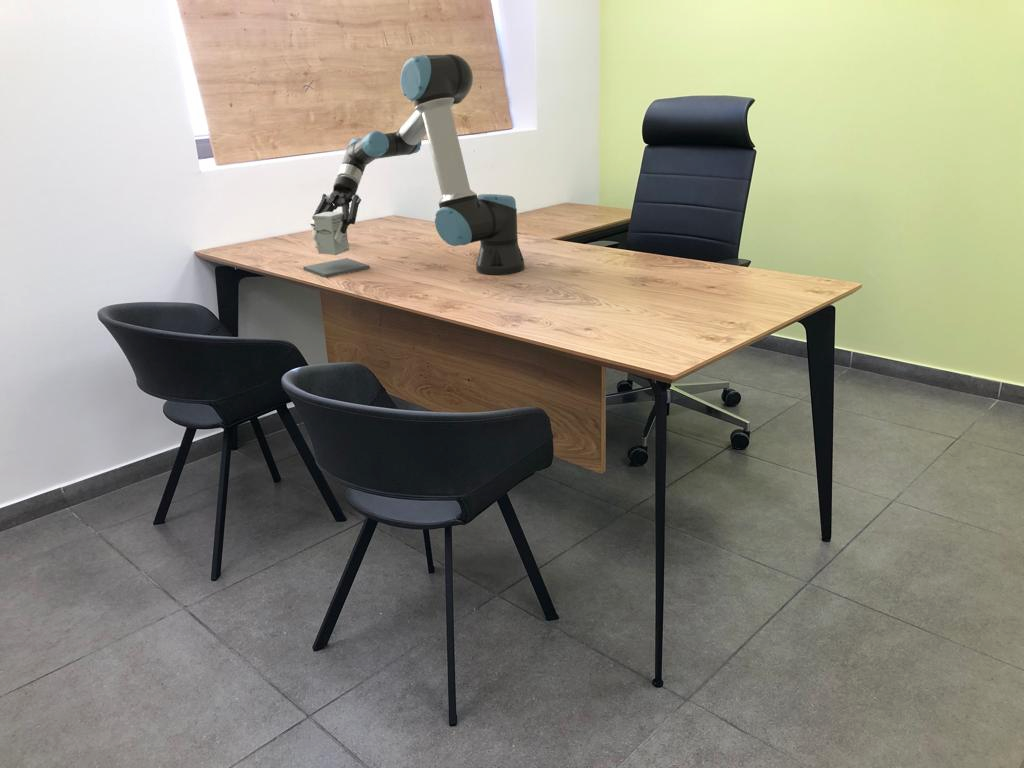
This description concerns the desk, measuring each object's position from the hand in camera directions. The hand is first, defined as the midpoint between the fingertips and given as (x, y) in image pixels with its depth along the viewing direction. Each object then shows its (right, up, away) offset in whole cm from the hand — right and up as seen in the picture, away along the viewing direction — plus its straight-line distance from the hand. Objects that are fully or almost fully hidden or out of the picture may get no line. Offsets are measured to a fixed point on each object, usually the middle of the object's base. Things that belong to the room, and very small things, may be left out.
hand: (326, 240), depth 259 cm
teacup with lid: (-9, +6, +44) cm, 45 cm away
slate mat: (+2, -8, +6) cm, 11 cm away
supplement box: (+2, -3, +5) cm, 6 cm away
